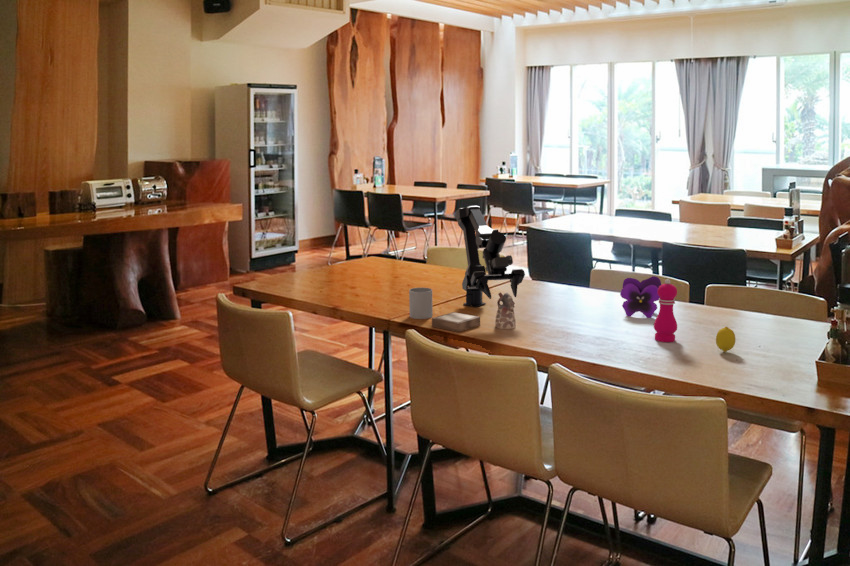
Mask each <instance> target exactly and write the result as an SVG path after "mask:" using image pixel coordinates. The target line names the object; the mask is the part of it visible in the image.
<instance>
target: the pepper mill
mask: <svg viewBox="0 0 850 566" xmlns="http://www.w3.org/2000/svg"><path fill="white" fill-rule="evenodd" d="M657 293H658V295H659V297H660V298H659V300H658V304H659V311H658V314H657V316H656V318H655V320H654V323H653V329H654V330H655V332H656V333H654V340H655V341H656V342H661V343H672V342H673V343H674V342H675V341H676V335H675V333H676V331H677V330H678V324H677V319H676V317H675V314H674V305H675V304H676V302H675V301H676V299H675V298H676V297H677V295H678V289H677V287H676V286H675V285H674V284H672V283H671V280H670V279H669V278H667V279H665V280H664V283H661V286H659V288H658V291H657Z"/></svg>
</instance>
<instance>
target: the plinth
mask: <svg viewBox="0 0 850 566" xmlns="http://www.w3.org/2000/svg"><path fill="white" fill-rule="evenodd" d="M479 326H481V316H477V315H471V314H466V313H462V312H461V313H460V312H457V311H452V312H450V313H444V314H442V315H437V316H434V317H431V327H432V328H437V329H442V330H446V331H452V332H456V333H460V332H463V331H466V330H470V329H472V328H476V327H479Z"/></svg>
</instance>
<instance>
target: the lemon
mask: <svg viewBox="0 0 850 566" xmlns="http://www.w3.org/2000/svg"><path fill="white" fill-rule="evenodd" d="M715 337H716V338H715V344H716V346H717V348H718V349H720V350H721V351H722V352H723V353H727V351H731V350H732V349H733V348H734V346H735V345H736V334H735V332H734V330H732V329H731V328H729V326H724V327H722V328H720V329H719V330H718V331H717V333H716V336H715Z"/></svg>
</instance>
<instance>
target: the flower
mask: <svg viewBox="0 0 850 566" xmlns="http://www.w3.org/2000/svg"><path fill="white" fill-rule="evenodd" d="M661 285H662V281H661V279H660V278H659V277H658V276H653V275H652V276H651V277H649V278H647V279H643V280H641V281H640V280H638V279H637V278H633V277H627V278H625V279H624V280H623V281H622V289H621V290H620V297H621V298H622V299H624V300H625V301H623V303H622V305H621V306H622V308H623V310H624V312H625V315H626V316H628V317H632V316H633V315H634V314H635V313H638V312H640V313H642V314H643V315H644V317H645V318H647V319H648V318H649V319H650V318H652V317H653V315H654V313H655V311H657V309H658V305H657V303H655V302H659V298H660V297H659V295H658V293H657V291H658V288H659V286H661Z"/></svg>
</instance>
